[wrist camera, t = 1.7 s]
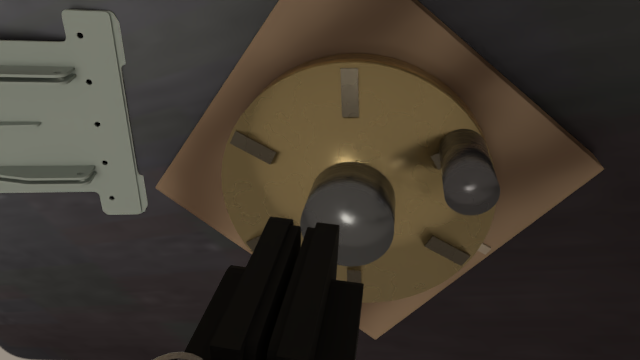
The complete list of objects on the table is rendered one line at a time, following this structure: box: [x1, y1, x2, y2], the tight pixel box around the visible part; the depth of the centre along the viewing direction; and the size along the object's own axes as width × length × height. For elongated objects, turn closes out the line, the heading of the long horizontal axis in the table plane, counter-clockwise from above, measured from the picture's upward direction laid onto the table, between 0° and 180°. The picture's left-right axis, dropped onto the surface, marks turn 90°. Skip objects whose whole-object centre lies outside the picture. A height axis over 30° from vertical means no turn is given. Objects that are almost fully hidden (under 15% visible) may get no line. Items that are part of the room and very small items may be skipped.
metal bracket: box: [0, 9, 148, 215], centre depth 33 cm, size 14×6×15 cm
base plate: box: [155, 0, 604, 340], centre depth 30 cm, size 20×20×2 cm
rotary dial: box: [221, 53, 500, 303], centre depth 26 cm, size 16×16×7 cm
